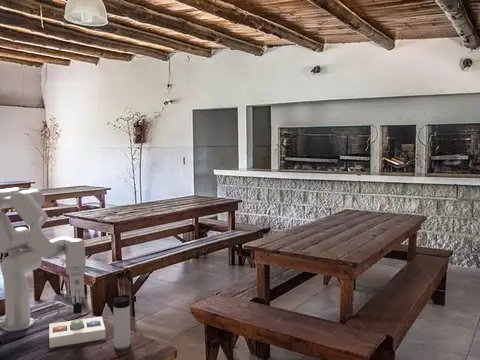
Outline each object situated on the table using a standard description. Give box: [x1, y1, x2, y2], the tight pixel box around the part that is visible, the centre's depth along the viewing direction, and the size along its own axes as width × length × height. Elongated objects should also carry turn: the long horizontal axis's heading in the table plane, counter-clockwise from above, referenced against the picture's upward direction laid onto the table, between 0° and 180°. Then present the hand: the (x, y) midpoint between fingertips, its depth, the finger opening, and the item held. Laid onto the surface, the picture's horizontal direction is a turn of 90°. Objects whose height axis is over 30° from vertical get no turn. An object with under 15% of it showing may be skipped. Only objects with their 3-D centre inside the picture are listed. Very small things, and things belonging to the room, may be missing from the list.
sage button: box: [71, 319, 83, 330], centre depth 181 cm, size 5×5×4 cm
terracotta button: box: [54, 326, 66, 333], centre depth 178 cm, size 5×5×4 cm
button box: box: [48, 316, 107, 349], centre depth 181 cm, size 21×14×4 cm, turn 113°
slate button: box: [88, 321, 99, 327], centre depth 184 cm, size 5×5×4 cm
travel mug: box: [113, 294, 131, 351], centre depth 172 cm, size 6×7×20 cm
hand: (77, 312), depth 180 cm, fingers closed
